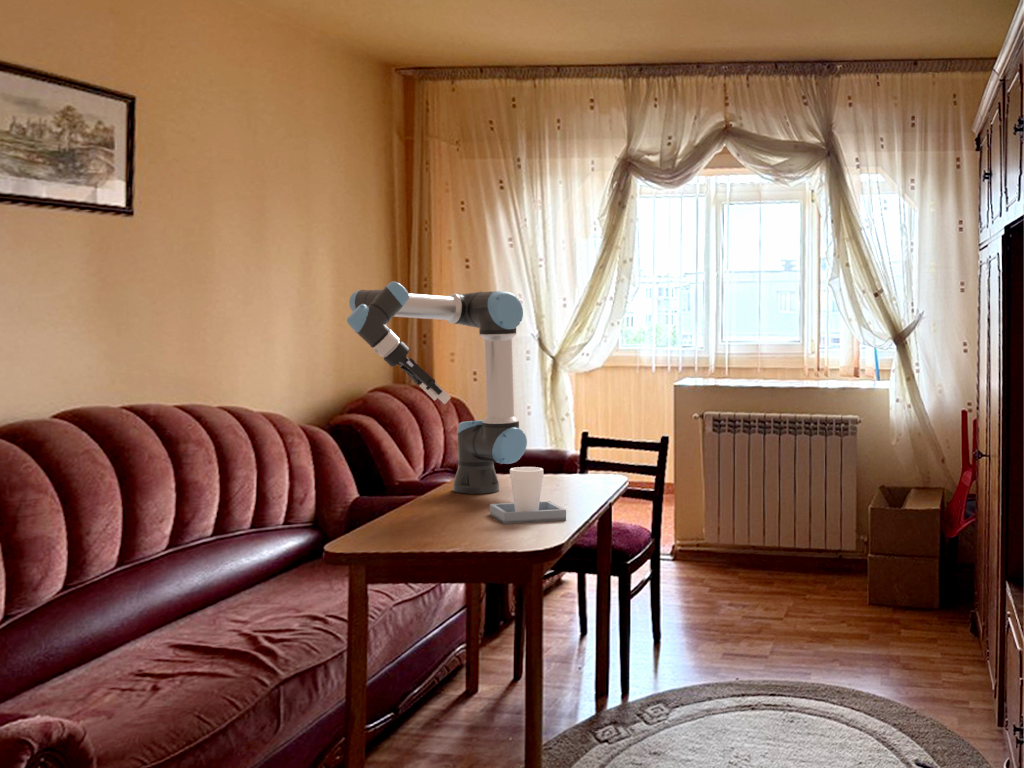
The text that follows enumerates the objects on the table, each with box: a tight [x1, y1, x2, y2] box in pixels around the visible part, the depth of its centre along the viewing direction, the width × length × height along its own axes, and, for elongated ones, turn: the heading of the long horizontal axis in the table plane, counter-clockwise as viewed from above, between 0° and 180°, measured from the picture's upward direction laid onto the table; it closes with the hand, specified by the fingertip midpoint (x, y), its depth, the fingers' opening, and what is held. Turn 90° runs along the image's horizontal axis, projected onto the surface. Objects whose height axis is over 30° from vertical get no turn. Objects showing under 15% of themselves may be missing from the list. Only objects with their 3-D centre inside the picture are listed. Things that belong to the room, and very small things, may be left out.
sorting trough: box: [489, 500, 567, 525], centre depth 323 cm, size 15×18×3 cm
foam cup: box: [509, 466, 544, 512], centre depth 323 cm, size 10×9×13 cm
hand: (442, 399), depth 336 cm, fingers open, 13 cm apart
